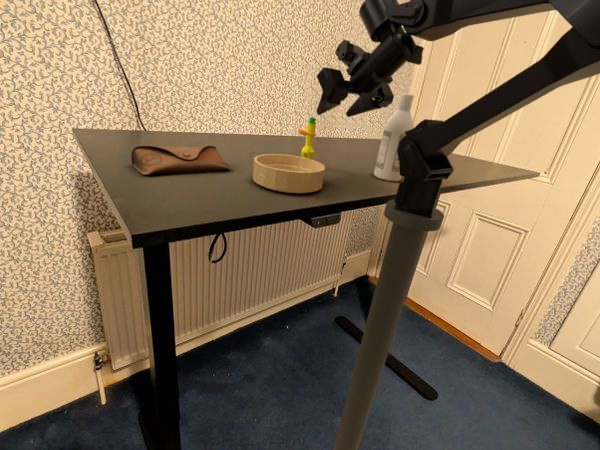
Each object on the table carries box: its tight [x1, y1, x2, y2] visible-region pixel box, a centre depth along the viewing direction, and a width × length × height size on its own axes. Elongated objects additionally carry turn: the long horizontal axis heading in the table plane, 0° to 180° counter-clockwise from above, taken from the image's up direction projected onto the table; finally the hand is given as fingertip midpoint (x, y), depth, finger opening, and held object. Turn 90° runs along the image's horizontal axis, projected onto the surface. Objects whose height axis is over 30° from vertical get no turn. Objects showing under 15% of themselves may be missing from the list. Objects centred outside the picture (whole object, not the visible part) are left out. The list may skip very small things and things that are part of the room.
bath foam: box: [373, 93, 415, 182], centre depth 79 cm, size 7×7×20 cm
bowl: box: [251, 153, 326, 194], centre depth 65 cm, size 14×14×4 cm
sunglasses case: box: [131, 145, 231, 176], centre depth 66 cm, size 18×7×7 cm
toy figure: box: [297, 116, 317, 160], centre depth 81 cm, size 7×4×12 cm, turn 44°
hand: (332, 114), depth 72 cm, fingers open, 9 cm apart
